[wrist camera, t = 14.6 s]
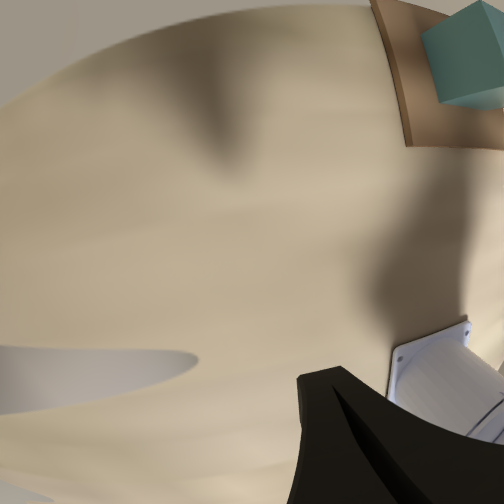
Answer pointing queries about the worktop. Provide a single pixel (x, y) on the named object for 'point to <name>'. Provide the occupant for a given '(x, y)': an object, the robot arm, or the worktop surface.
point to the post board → (429, 85)
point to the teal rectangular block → (468, 57)
